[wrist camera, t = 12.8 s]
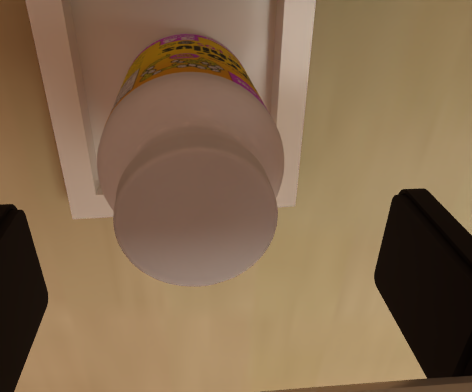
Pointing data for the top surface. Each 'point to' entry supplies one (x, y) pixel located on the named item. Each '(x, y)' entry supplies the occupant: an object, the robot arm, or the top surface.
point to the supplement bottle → (191, 163)
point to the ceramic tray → (140, 36)
